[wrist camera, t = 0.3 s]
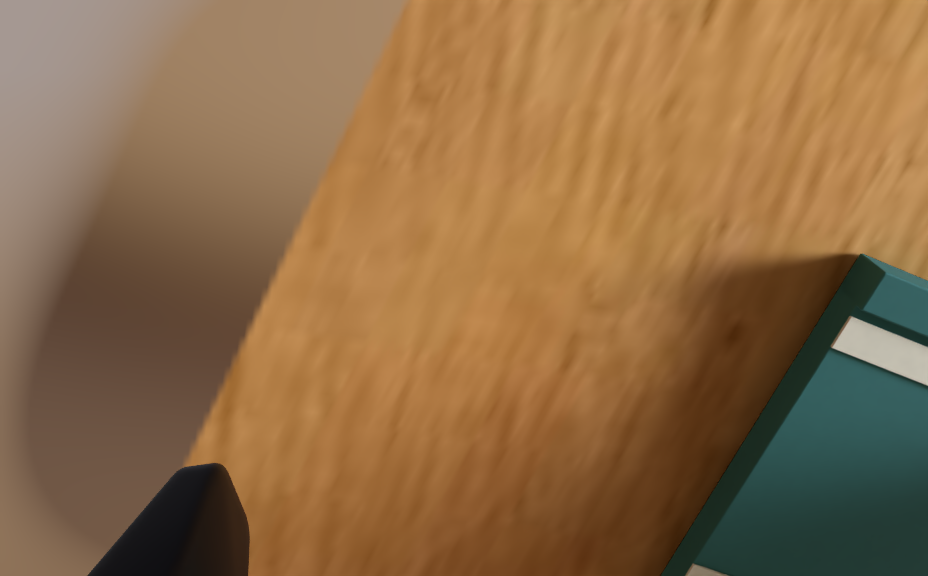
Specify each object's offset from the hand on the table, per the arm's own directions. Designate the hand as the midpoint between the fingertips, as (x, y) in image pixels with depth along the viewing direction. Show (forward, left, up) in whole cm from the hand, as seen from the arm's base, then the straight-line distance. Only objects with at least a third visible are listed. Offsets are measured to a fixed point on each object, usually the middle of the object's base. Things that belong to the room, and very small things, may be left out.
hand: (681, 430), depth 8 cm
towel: (-6, -15, -15) cm, 22 cm away
